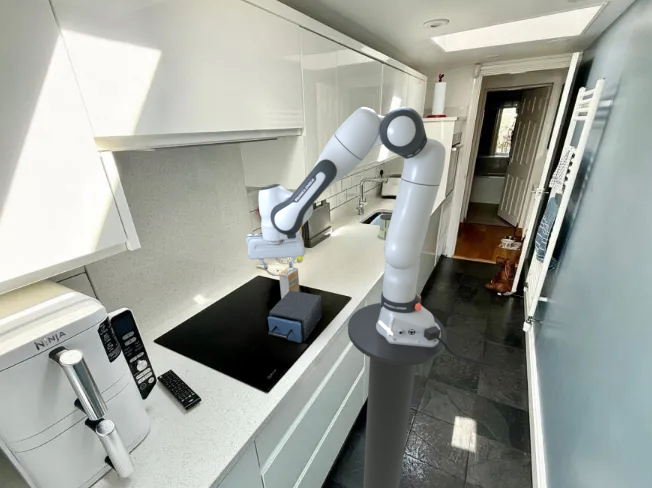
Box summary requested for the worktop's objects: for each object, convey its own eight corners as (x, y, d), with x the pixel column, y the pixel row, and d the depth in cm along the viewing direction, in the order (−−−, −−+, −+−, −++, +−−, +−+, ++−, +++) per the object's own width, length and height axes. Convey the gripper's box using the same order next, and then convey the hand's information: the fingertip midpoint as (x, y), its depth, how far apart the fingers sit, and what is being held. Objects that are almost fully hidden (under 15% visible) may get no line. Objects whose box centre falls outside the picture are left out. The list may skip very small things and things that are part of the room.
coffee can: (387, 233, 210) (388, 213, 204) (398, 237, 202) (399, 216, 196) (375, 236, 205) (376, 215, 199) (386, 240, 197) (387, 219, 191)
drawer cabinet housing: (305, 341, 110) (303, 319, 106) (271, 333, 115) (269, 312, 110) (321, 316, 124) (321, 295, 119) (291, 310, 128) (289, 290, 124)
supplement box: (290, 302, 134) (287, 275, 128) (281, 300, 136) (278, 273, 130) (300, 293, 140) (298, 268, 134) (291, 291, 142) (289, 266, 137)
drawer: (294, 351, 104) (293, 333, 100) (262, 343, 108) (260, 325, 105) (317, 318, 121) (316, 301, 117) (289, 313, 125) (287, 296, 121)
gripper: (243, 236, 104) (249, 273, 110) (303, 233, 105) (305, 269, 111) (246, 231, 110) (251, 266, 116) (303, 227, 111) (305, 262, 117)
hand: (278, 267), depth 114 cm, fingers open, 8 cm apart
